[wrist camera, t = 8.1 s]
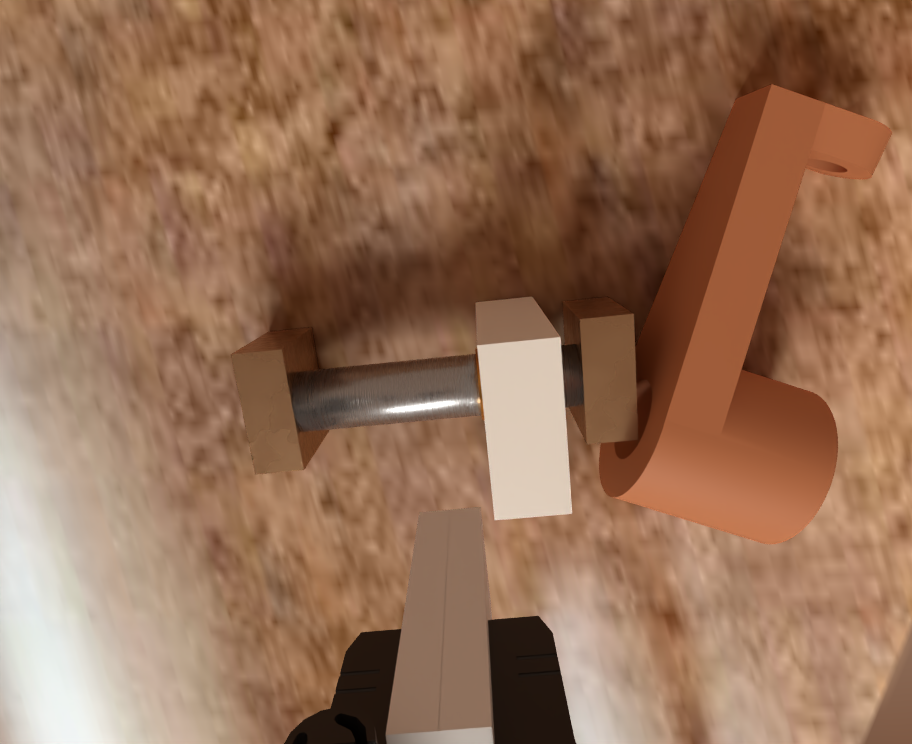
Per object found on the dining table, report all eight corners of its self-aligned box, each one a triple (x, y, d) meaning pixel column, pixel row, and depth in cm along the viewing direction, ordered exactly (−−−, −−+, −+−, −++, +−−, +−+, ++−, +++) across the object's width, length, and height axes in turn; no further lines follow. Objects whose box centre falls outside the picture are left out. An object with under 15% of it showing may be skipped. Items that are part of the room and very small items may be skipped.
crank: (717, 497, 36) (784, 576, 28) (588, 458, 35) (621, 527, 28) (881, 151, 31) (1017, 131, 23) (733, 99, 30) (822, 62, 23)
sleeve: (487, 427, 34) (494, 520, 24) (475, 302, 32) (477, 345, 22) (541, 422, 34) (572, 513, 24) (532, 296, 32) (560, 337, 22)
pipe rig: (288, 434, 35) (253, 476, 30) (268, 331, 34) (228, 355, 28) (612, 403, 34) (639, 441, 29) (607, 296, 33) (635, 314, 27)
